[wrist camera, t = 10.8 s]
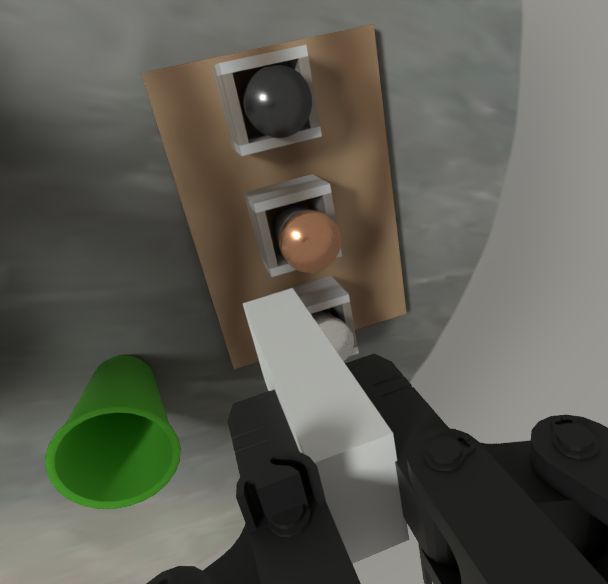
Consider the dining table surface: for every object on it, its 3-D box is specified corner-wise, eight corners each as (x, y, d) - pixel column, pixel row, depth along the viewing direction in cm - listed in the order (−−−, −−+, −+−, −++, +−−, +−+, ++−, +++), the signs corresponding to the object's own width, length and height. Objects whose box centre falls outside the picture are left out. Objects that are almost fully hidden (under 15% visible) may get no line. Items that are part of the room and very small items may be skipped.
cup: (111, 315, 41) (97, 385, 32) (195, 367, 45) (205, 443, 36) (48, 390, 42) (16, 480, 33) (135, 434, 46) (130, 525, 37)
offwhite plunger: (293, 347, 44) (308, 375, 40) (283, 305, 42) (298, 331, 38) (337, 333, 45) (357, 359, 41) (329, 291, 43) (349, 315, 39)
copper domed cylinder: (274, 258, 39) (289, 279, 35) (261, 206, 37) (276, 222, 33) (324, 243, 40) (345, 263, 35) (315, 192, 38) (336, 206, 34)
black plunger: (243, 137, 36) (255, 144, 32) (227, 75, 34) (238, 72, 30) (298, 124, 37) (317, 129, 32) (286, 62, 35) (305, 58, 31)
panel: (232, 363, 46) (241, 397, 41) (141, 73, 35) (139, 70, 30) (401, 308, 49) (429, 334, 44) (367, 25, 38) (400, 16, 33)
